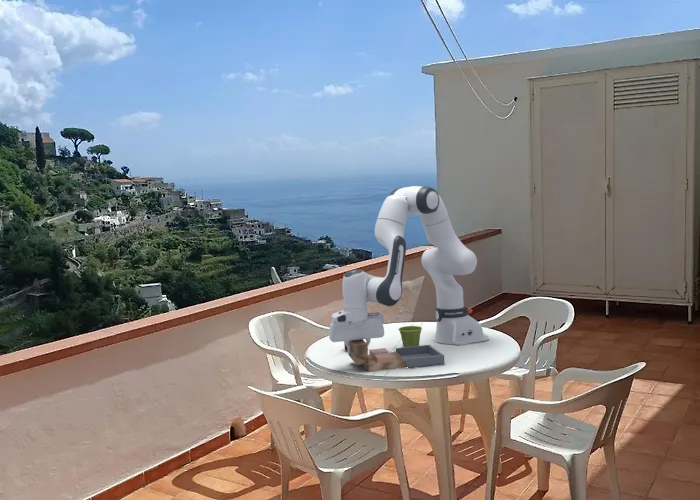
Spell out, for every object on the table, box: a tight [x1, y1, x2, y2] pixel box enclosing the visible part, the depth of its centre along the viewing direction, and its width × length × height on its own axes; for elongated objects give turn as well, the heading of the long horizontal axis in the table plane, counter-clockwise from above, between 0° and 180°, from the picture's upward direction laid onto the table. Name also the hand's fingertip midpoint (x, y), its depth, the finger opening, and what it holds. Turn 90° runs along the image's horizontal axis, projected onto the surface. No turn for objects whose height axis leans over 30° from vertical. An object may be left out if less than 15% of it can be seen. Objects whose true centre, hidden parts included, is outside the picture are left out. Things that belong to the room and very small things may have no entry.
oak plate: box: [362, 351, 407, 373], centre depth 241 cm, size 14×14×2 cm
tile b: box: [374, 353, 394, 364], centre depth 238 cm, size 6×6×2 cm
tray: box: [395, 344, 446, 369], centre depth 244 cm, size 14×17×4 cm
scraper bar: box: [347, 339, 369, 365], centre depth 239 cm, size 4×14×7 cm, turn 11°
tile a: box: [368, 347, 389, 359], centre depth 244 cm, size 6×6×2 cm
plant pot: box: [398, 325, 423, 347], centre depth 261 cm, size 9×9×9 cm
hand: (357, 351), depth 239 cm, fingers closed on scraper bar, 4 cm apart
